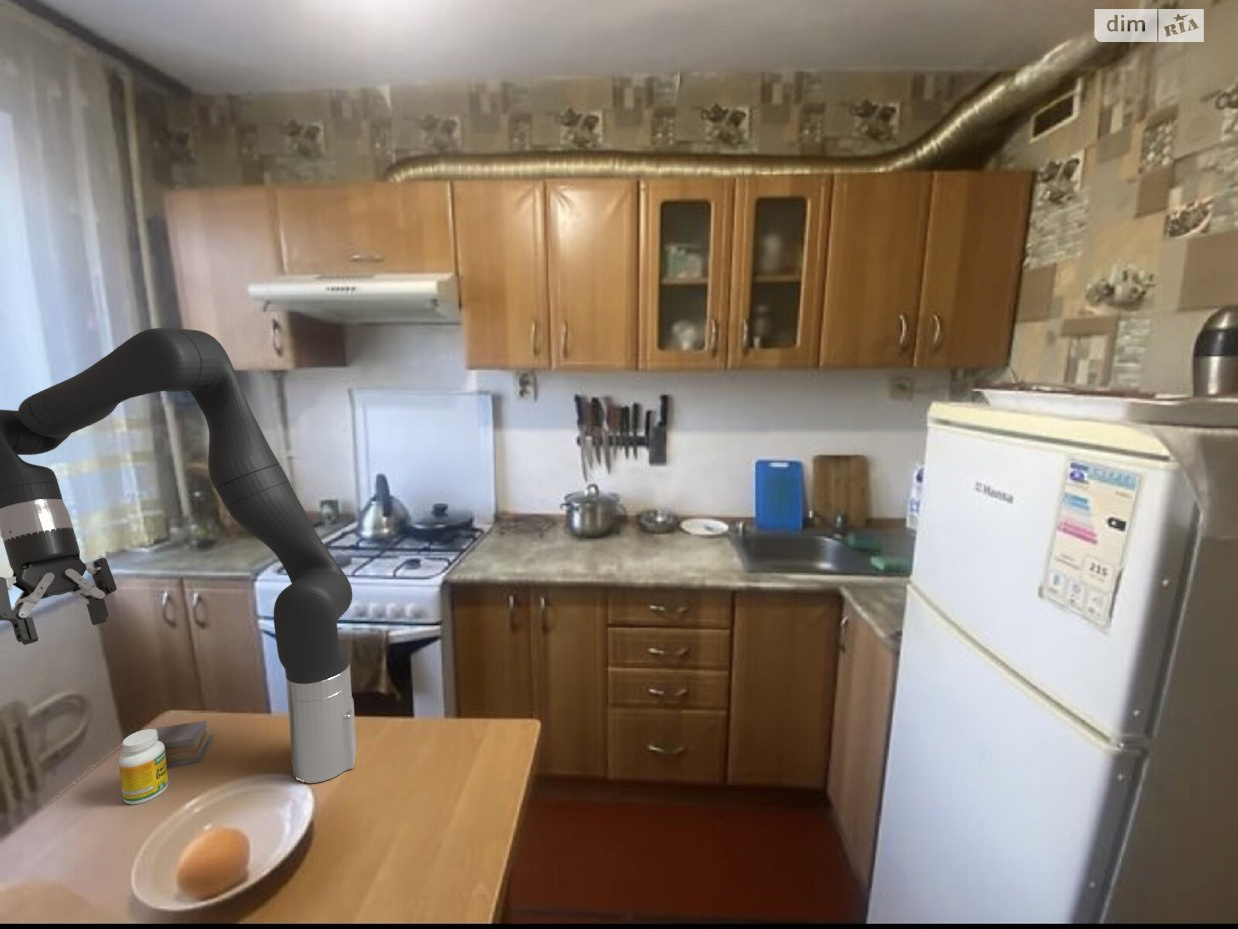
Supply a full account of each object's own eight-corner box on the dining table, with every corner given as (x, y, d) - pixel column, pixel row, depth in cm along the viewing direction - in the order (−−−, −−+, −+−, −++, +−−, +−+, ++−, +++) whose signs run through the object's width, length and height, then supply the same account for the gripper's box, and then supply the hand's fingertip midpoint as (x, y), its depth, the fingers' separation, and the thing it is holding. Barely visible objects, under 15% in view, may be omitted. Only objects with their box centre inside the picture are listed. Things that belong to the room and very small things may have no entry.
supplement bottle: (129, 787, 85) (122, 732, 83) (172, 776, 87) (166, 722, 86) (118, 811, 80) (111, 752, 79) (164, 798, 82) (158, 741, 81)
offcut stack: (214, 737, 97) (211, 715, 96) (201, 761, 91) (198, 738, 90) (151, 749, 94) (149, 727, 93) (134, 775, 87) (131, 751, 87)
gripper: (-9, 535, 75) (22, 645, 75) (108, 519, 89) (135, 612, 89) (-42, 548, 77) (-12, 656, 77) (78, 531, 91) (104, 622, 90)
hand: (67, 633), depth 83 cm, fingers open, 8 cm apart
